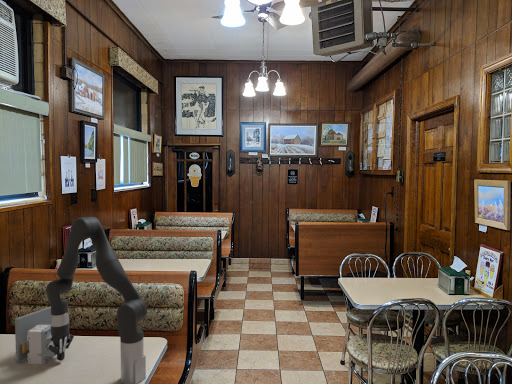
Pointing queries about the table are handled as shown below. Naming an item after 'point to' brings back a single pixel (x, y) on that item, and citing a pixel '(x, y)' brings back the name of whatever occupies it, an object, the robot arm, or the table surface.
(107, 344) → the table surface
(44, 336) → the circuit breaker
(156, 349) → the table surface
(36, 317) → the mounting panel
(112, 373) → the table surface
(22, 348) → the din rail
